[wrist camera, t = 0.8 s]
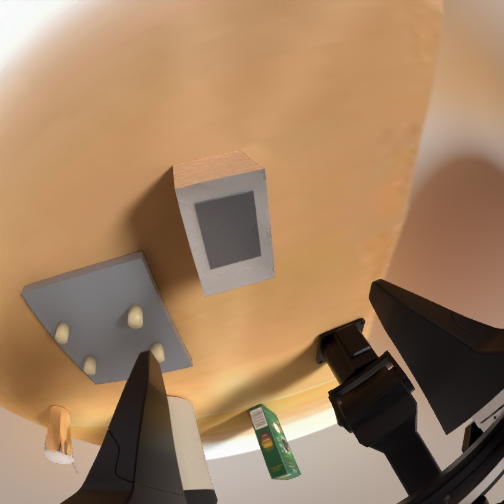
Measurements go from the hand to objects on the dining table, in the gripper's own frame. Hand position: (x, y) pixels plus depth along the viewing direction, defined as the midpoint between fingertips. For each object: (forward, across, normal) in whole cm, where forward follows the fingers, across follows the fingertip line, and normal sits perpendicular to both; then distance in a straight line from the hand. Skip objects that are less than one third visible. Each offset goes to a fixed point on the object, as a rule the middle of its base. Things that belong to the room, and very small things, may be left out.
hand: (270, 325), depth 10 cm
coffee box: (+12, 0, +37) cm, 39 cm away
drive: (+11, 0, 0) cm, 11 cm away
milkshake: (+11, +30, +24) cm, 40 cm away
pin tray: (+11, +12, +9) cm, 19 cm away
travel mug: (+11, +13, +26) cm, 31 cm away
